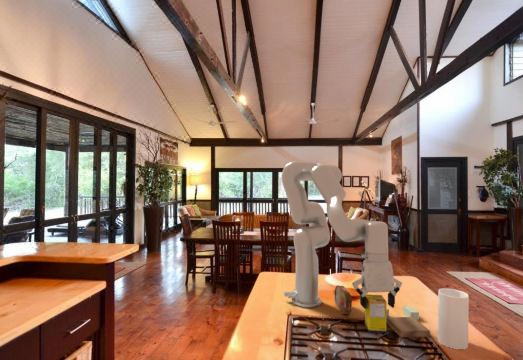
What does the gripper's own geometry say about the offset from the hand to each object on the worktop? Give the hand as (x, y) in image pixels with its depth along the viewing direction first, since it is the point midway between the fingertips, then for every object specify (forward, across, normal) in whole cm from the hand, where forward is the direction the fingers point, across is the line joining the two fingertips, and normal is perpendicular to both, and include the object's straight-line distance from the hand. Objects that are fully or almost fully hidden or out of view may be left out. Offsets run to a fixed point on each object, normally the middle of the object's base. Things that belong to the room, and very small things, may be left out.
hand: (377, 306), depth 105 cm
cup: (+9, +20, -9) cm, 24 cm away
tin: (+8, -7, +17) cm, 20 cm away
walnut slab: (+8, +10, 0) cm, 13 cm away
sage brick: (+8, +17, +10) cm, 22 cm away
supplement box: (+8, -1, +1) cm, 8 cm away
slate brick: (+8, +5, +10) cm, 14 cm away
